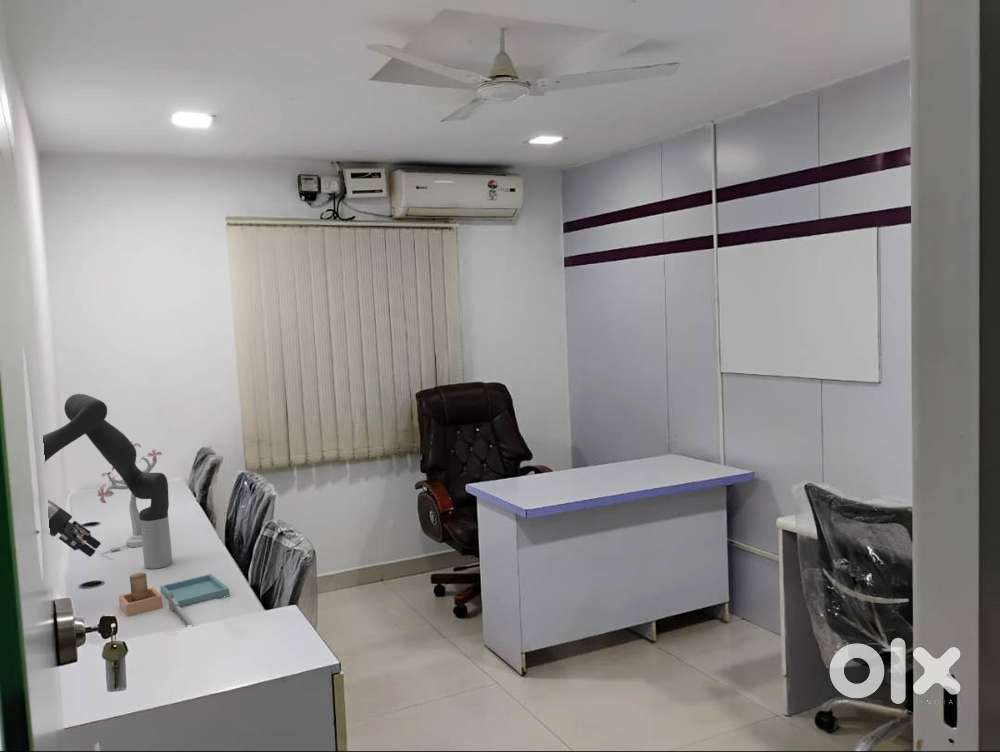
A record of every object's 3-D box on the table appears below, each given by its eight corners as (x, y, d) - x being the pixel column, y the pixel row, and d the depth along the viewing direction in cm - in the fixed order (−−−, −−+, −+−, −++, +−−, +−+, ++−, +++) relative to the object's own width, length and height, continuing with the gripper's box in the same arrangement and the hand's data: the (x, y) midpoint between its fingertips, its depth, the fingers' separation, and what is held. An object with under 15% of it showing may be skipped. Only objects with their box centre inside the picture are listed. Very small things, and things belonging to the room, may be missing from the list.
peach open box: (119, 608, 248) (118, 595, 248) (154, 599, 254) (153, 587, 254) (127, 618, 240) (126, 605, 240) (162, 608, 246) (161, 596, 246)
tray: (160, 593, 259) (160, 586, 259) (211, 581, 269) (210, 573, 268) (176, 609, 245) (175, 601, 245) (229, 595, 254) (228, 588, 254)
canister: (131, 606, 248) (128, 575, 247) (147, 602, 251) (144, 571, 249) (134, 611, 244) (131, 579, 243) (150, 607, 247) (147, 575, 246)
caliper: (169, 611, 245) (167, 591, 244) (172, 610, 245) (170, 590, 245) (191, 631, 229) (189, 610, 228) (195, 630, 230) (193, 609, 229)
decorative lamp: (114, 560, 295) (103, 452, 291) (83, 550, 309) (72, 447, 305) (184, 539, 317) (174, 439, 313) (151, 531, 331) (142, 434, 327)
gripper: (53, 513, 233) (100, 546, 237) (64, 502, 247) (109, 534, 251) (34, 533, 232) (82, 566, 236) (46, 521, 246) (91, 553, 250)
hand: (95, 550), depth 244 cm, fingers open, 8 cm apart
